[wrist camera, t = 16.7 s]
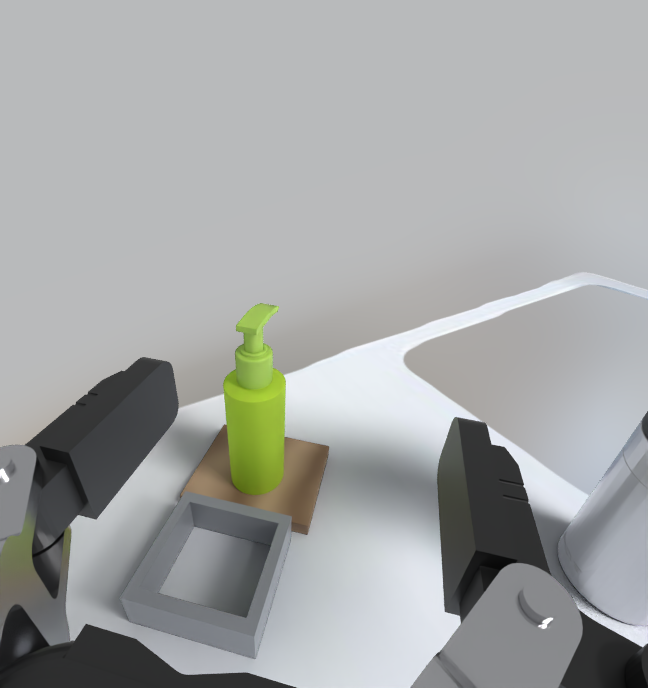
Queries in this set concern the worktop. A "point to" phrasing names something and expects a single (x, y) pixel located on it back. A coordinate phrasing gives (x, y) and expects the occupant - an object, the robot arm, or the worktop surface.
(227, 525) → the tray
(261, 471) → the soap dispenser
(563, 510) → the worktop surface
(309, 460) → the board
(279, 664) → the worktop surface
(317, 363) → the worktop surface
